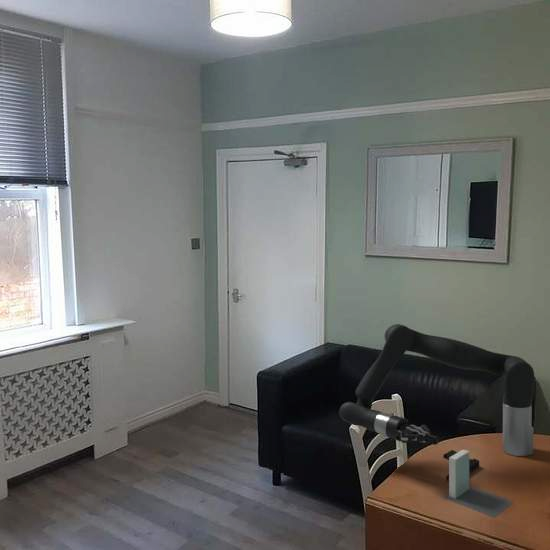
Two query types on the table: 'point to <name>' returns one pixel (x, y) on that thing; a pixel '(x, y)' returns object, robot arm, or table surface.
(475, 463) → the handgun
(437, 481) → the table surface
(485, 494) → the mat
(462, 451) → the tile
